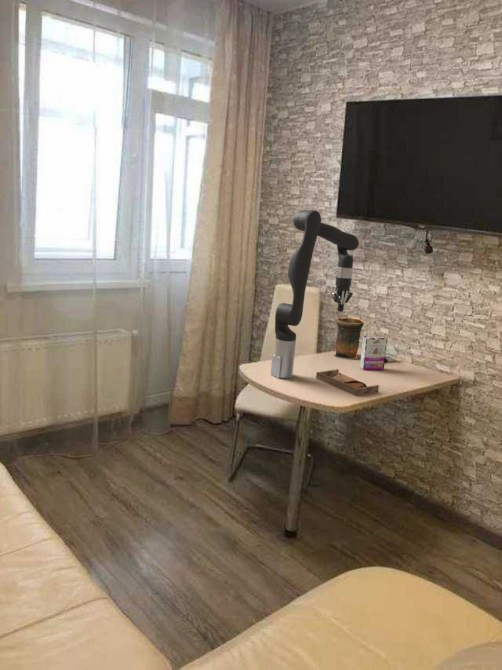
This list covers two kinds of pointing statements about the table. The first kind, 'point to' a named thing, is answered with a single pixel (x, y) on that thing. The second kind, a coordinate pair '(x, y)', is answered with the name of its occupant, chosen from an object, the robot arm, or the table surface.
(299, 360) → the table surface
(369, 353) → the candy bar box
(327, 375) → the tray
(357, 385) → the sunglasses case
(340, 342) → the vessel
